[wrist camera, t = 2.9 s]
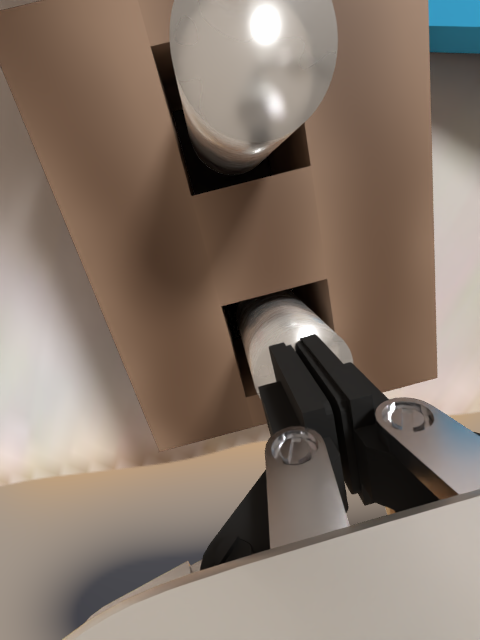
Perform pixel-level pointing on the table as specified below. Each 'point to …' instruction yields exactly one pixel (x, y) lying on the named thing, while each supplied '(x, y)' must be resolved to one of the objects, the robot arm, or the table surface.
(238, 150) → the peg
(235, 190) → the walnut block
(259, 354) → the peg
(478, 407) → the table surface
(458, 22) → the blue block
